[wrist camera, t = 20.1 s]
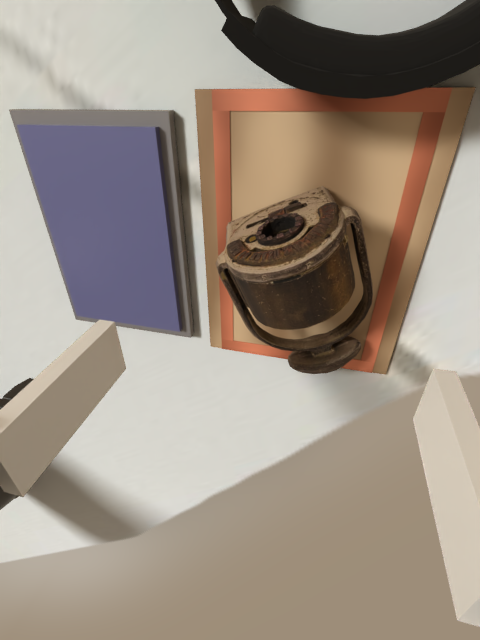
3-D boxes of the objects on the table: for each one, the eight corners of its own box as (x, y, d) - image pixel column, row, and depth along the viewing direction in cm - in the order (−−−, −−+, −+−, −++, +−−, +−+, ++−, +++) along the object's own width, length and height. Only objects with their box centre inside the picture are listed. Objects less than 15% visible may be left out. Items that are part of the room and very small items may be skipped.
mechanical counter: (448, 206, 14) (207, 197, 14) (380, 432, 20) (210, 424, 20) (387, 185, 20) (221, 180, 21) (349, 361, 26) (220, 356, 26)
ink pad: (80, 315, 31) (72, 322, 30) (17, 109, 22) (2, 109, 21) (194, 332, 29) (188, 341, 28) (173, 110, 20) (164, 111, 19)
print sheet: (211, 345, 29) (210, 346, 29) (196, 89, 19) (194, 89, 19) (385, 372, 26) (385, 374, 26) (474, 87, 16) (475, 87, 16)
